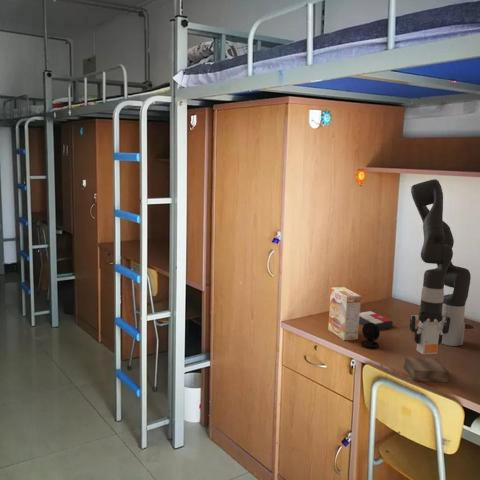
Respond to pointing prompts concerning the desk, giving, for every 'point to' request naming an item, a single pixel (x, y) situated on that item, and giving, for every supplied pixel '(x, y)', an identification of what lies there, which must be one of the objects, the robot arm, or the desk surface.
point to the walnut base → (426, 369)
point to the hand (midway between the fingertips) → (427, 343)
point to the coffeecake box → (344, 313)
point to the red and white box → (375, 320)
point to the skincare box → (428, 338)
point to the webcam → (370, 335)
